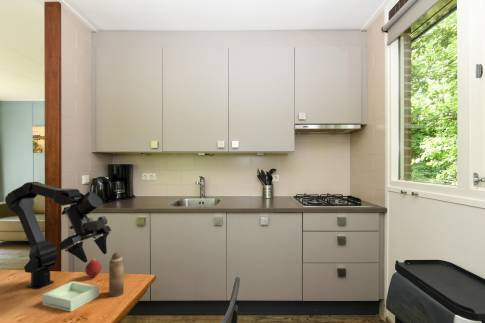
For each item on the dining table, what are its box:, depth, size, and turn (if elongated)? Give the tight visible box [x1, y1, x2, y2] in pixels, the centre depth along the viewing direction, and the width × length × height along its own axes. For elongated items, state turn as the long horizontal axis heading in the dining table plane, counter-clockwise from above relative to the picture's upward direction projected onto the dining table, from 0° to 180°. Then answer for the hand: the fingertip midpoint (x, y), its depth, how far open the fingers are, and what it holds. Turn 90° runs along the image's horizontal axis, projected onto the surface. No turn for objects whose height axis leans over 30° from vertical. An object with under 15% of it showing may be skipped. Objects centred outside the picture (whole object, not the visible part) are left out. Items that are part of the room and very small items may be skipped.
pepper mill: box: [108, 251, 125, 298], centre depth 101 cm, size 5×5×15 cm
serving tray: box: [42, 280, 100, 312], centre depth 96 cm, size 13×11×4 cm
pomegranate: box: [85, 257, 102, 278], centre depth 115 cm, size 6×6×8 cm
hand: (96, 257), depth 102 cm, fingers open, 9 cm apart
